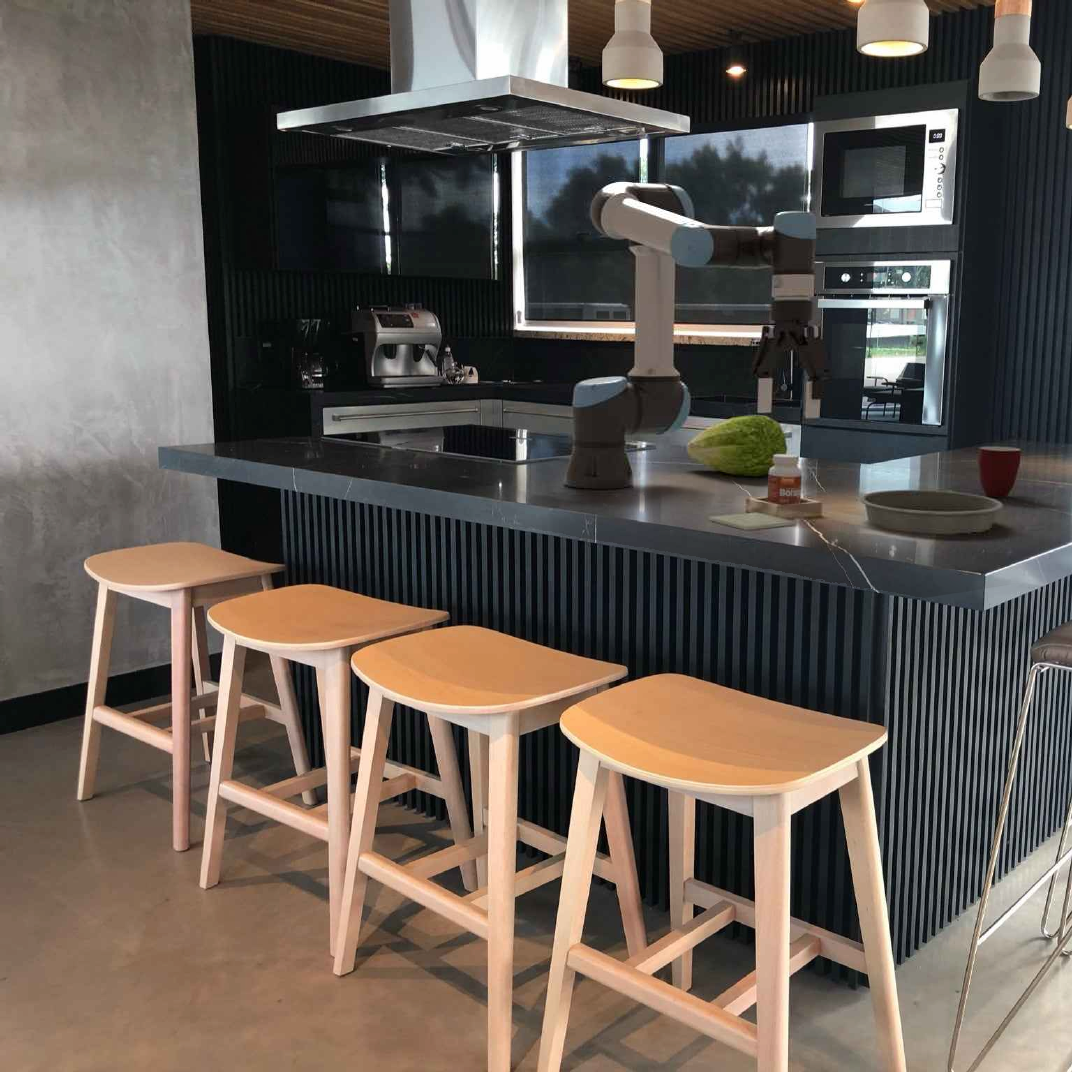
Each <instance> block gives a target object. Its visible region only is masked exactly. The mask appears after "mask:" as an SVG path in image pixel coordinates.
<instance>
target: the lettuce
mask: <svg viewBox="0 0 1072 1072" xmlns="http://www.w3.org/2000/svg"><path fill="white" fill-rule="evenodd" d="M787 446H788V445H787V441H786V435H785V434H784V431H783V429H782V426H781V424H780V423H779V422H778V421H776V420H775V419H773V418H771V417H769V416H767V415H761V414H748V415H742V416H736V417H735V416H734V417H731V418H728V419H726V420H723V421H721V422H718V423H715V424H713V425H711V426H709V427H707V428H706V429H704V430H703V431H701V432H700V433H699V434H697V435H696V436H695V437H694V438H693V439H692V440H690V441H689V442H688V444H687V445H686V451H687V455H688V456H689V457H690V459H693V460H694V461H697V462H698V463H700V464H702V465H704V466H706V467H707V468H709V469H711V470H715V471H718V472H723V473H726V474H730V475H732V476H742V477H761V476H764V475H767V474H769V470H770V468H771V467H773V466H774V464H775V463H773V455H777V454H787V453H788V452H787V451H788V447H787Z"/></svg>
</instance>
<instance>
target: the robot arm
mask: <svg viewBox="0 0 1072 1072" xmlns="http://www.w3.org/2000/svg"><path fill="white" fill-rule="evenodd" d="M694 210H695V209H694V206H693V202H692V200H691V198H690V195H688V194H687V191H686V190H684V188H682V187H680V186H679V185H678V186H677V185H672V184H667V183H650V182H649V183H645V182H629V181H628V182H627V181H619V182H618V181H617V182H614V183H613V182H612V183H610V184H608V185H605V186H604V187H602V188H601V189H600V190H599V191H598V192H597V193H596V194H595V196H594V198H593V200H592V202H591V206H590V213H589V214H590V220H591V222H592V224H593V226H594V228H595V229H596V230H597V231H598V232H599V233H601V234H602V235H604V236H606V237H608V238H611V239H614V240H624V239H626V240H627V239H628V249H629V250H630V251H631V252H632V253H633V255H634V256H635V294H634V295H635V301H634V303H635V304H634V306H635V307H634V308H635V309H634V315H635V316H634V366H633V368H632V369H631V370H630V371H629V372H628V373H627V378H626V377H625V376H606V377H597V378H591V379H589V378H588V379H585V380H582V381H579V382H578V383H576V385H575V386H574V389H573V395H572V396H573V397H572V452H571V455H570V458H569V461H568V463H567V466H566V469H565V473H564V485H566V486H568V487H571V488H578V489H588V490H589V489H593V490H594V489H596V490H611V489H612V490H613V489H623V488H628V487H632V486H633V485H634V474H633V470H632V467H631V464H630V460H629V457H628V454H627V448H626V447H627V444H626V443H627V441H626V440H627V436H645V435H646V436H647V435H658V436H660V435H665V434H670V433H675V432H677V431H678V430H679V429H681V428H682V427H683V425H684V424H685V423H686V421H687V419H688V417H689V415H690V410H691V394H690V391H689V388H688V386H687V385H686V384H685V383H684V382H682V381H681V373H680V372H679V371H678V370H677V369H676V368H675V366H674V350H675V349H674V347H675V345H674V344H675V343H674V342H675V340H674V339H675V335H674V334H675V288H676V287H675V285H676V284H675V283H676V282H675V279H676V264H677V265H679V266H681V267H688V268H693V269H696V268H730V269H731V268H734V269H735V268H736V269H744V270H753V271H754V270H759V269H764V268H765V269H767V268H768V269H769V268H772V272H771V273H772V275H771V276H772V280H771V281H772V283H771V284H772V285H771V297H772V298H774V300H772V302H771V303H770V319H771V321H773V322H774V325H763V326H762V327H761V335H760V336H761V337H760V340H759V342H758V345H757V349H756V350H755V351H756V352H755V354H754V357H753V360H752V363H751V366H750V369H749V373H750V374H751V375H754V376H755V377H756V381H757V382H756V384H757V387H756V395H757V413H758V414H759V413H760V414H765V413H772V400H773V378H772V377H773V376H772V372H773V371H774V369H775V368H776V366H777V364H778V362H779V360H780V359H781V358H782V356H783V354H784V353H786V352H787V351H793V352H794V353H795V354H797V356H798V358H799V360H800V362H801V364H802V366H803V368H804V370H805V372H806V374H807V376H808V378H807V381H806V387H805V388H806V390H805V391H806V392H805V413H804V417H805V419H815V418H816V419H817V418H820V413H821V412H820V410H821V400H822V397H823V388H824V387H823V383H824V381H826V380H827V379H832V377H833V372H832V370H831V366H830V365H831V364H830V363H829V358H828V355H827V351H826V349H825V344H824V341H823V337H822V335H823V334H822V326H820V325H809V322H810V321H811V320H812V319H813V314H814V311H813V309H814V301H813V300H811V298H813V297H814V292H815V291H814V290H815V289H814V288H815V266H816V265H815V263H816V262H815V261H816V260H815V259H816V243H817V235H818V234H817V223H816V222H817V221H816V220H817V219H816V216H815V214H814V213H813V212H810V211H781V212H779V213H776V215H774V219H773V225H771V226H759V227H756V226H733V225H732V226H730V225H713V224H706V223H704V222H700V221H698V220H695V211H694Z"/></svg>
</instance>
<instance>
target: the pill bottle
mask: <svg viewBox="0 0 1072 1072" xmlns="http://www.w3.org/2000/svg"><path fill="white" fill-rule="evenodd" d="M773 463H775V464H774V466H773V467H771V468H770V470H769V473H768V477H767V481H768V482H767V496H766V497H767V502H770V503H774V504H779V505H787V504H797V503H800V499H801V498H802V496H801V495H802V477H803V473H802V469H801V468H800V467H798V464H799V455H795V454H788V453H786V454H777V455H773Z"/></svg>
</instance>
